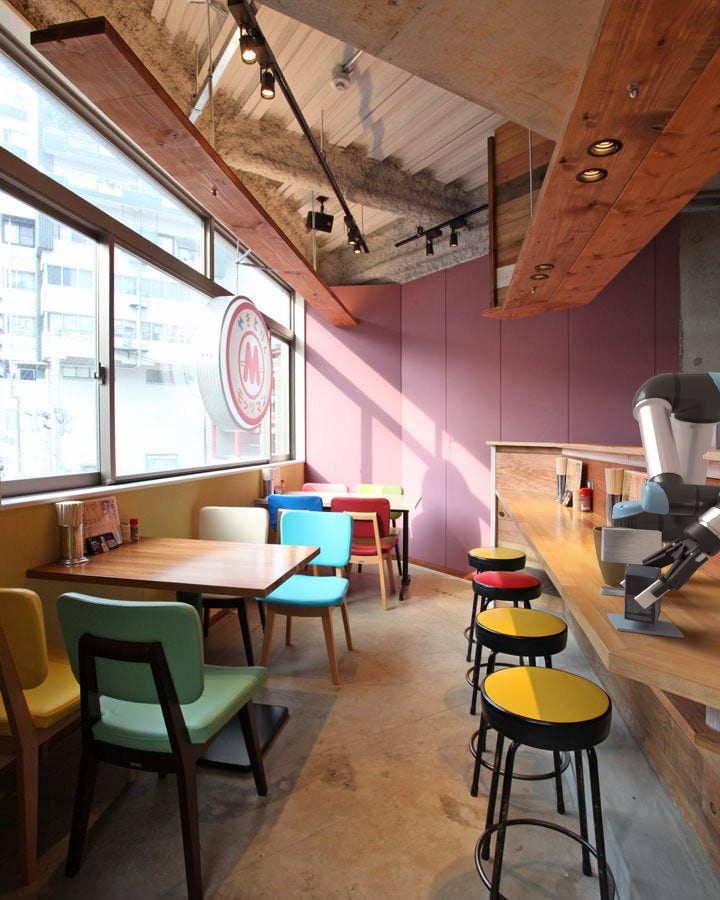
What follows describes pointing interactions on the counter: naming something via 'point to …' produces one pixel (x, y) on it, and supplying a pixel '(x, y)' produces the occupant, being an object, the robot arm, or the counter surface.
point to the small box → (634, 585)
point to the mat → (644, 626)
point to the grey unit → (627, 549)
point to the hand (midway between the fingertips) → (631, 595)
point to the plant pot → (609, 570)
